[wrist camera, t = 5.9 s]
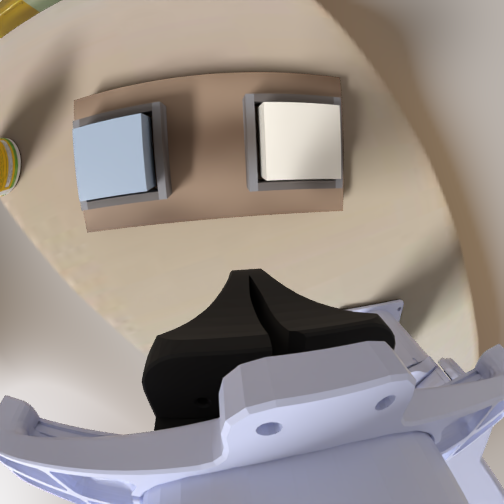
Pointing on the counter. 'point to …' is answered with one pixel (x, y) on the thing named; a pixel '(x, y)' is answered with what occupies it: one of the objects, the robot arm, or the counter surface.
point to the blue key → (114, 157)
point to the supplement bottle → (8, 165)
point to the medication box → (20, 12)
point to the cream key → (299, 141)
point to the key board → (209, 149)
